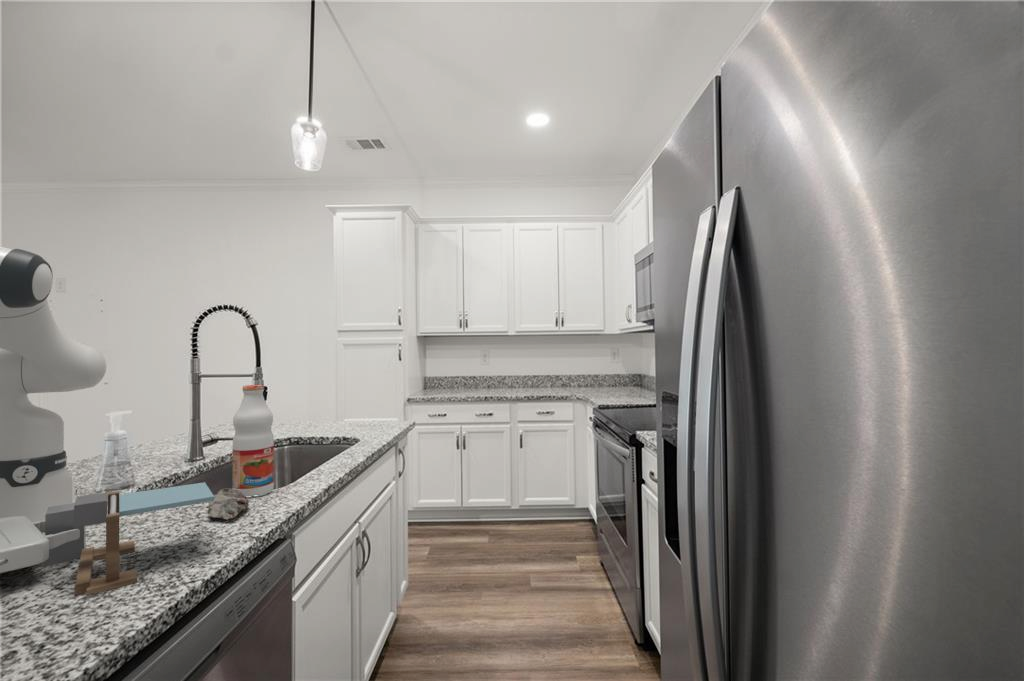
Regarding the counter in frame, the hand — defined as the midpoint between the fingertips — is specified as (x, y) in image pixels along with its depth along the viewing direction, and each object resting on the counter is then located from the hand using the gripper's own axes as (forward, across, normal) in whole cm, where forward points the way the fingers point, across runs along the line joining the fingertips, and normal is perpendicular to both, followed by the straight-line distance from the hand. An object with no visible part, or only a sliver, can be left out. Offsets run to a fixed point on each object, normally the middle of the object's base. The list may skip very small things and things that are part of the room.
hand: (72, 527), depth 85 cm
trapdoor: (+7, -13, -4) cm, 16 cm away
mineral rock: (+26, 0, +6) cm, 27 cm away
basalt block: (-1, 0, +5) cm, 5 cm away
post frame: (+3, -12, +5) cm, 14 cm away
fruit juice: (+37, +10, +5) cm, 38 cm away
